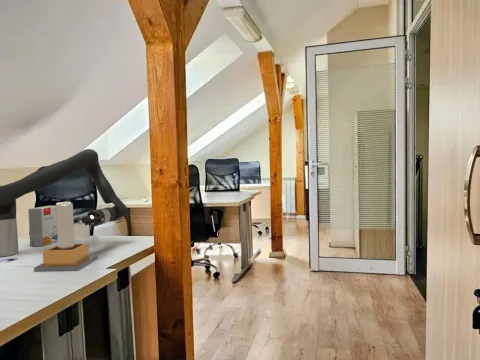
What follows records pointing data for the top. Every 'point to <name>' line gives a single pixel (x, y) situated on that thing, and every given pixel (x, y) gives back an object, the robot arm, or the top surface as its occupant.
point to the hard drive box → (42, 225)
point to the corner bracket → (81, 231)
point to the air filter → (65, 226)
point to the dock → (66, 259)
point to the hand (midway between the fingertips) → (76, 222)
